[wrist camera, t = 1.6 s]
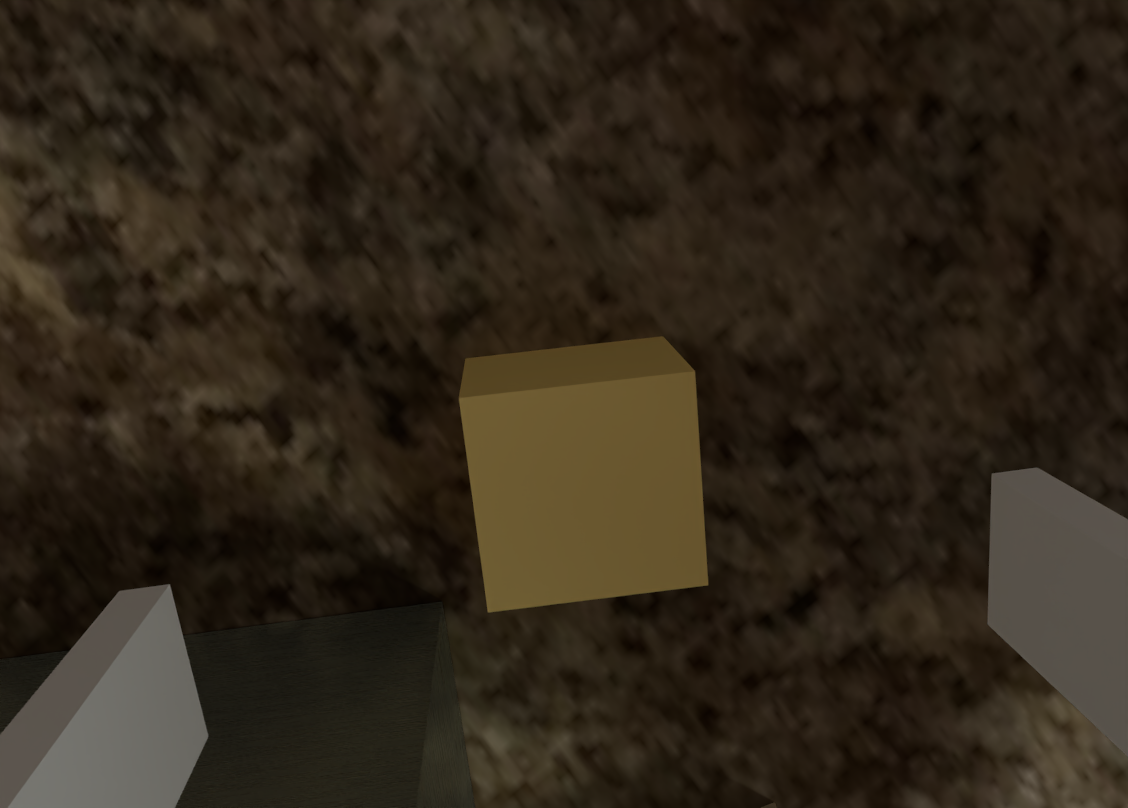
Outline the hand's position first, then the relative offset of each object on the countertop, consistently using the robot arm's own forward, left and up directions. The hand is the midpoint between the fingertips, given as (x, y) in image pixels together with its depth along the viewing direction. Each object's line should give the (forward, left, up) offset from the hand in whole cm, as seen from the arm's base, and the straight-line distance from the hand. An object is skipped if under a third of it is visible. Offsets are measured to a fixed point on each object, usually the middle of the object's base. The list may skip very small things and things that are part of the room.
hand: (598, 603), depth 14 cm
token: (0, 0, -9) cm, 9 cm away
